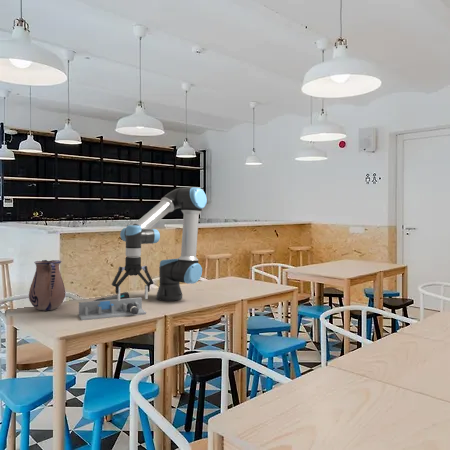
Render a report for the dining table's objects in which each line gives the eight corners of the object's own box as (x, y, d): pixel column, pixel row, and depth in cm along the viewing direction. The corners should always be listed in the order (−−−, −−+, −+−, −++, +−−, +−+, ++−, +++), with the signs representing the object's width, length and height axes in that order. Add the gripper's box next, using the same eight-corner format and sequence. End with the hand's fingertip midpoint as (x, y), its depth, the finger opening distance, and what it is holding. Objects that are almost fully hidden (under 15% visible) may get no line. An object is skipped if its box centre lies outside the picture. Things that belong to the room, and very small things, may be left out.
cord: (126, 310, 226) (126, 303, 226) (133, 309, 228) (133, 302, 227) (131, 314, 217) (131, 307, 217) (138, 314, 219) (138, 306, 218)
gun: (133, 305, 241) (127, 288, 240) (97, 320, 234) (90, 303, 233) (131, 303, 245) (125, 286, 244) (96, 318, 238) (89, 301, 237)
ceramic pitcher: (56, 303, 244) (56, 258, 243) (74, 310, 229) (74, 261, 228) (23, 308, 232) (23, 260, 231) (40, 315, 217) (39, 264, 216)
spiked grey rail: (141, 309, 232) (141, 297, 231) (146, 314, 223) (146, 301, 222) (78, 315, 218) (78, 302, 218) (81, 320, 209) (81, 306, 209)
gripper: (155, 255, 228) (155, 296, 229) (106, 256, 218) (105, 299, 219) (159, 256, 222) (159, 299, 222) (108, 257, 211) (108, 302, 212)
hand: (132, 299), depth 220 cm, fingers open, 13 cm apart
